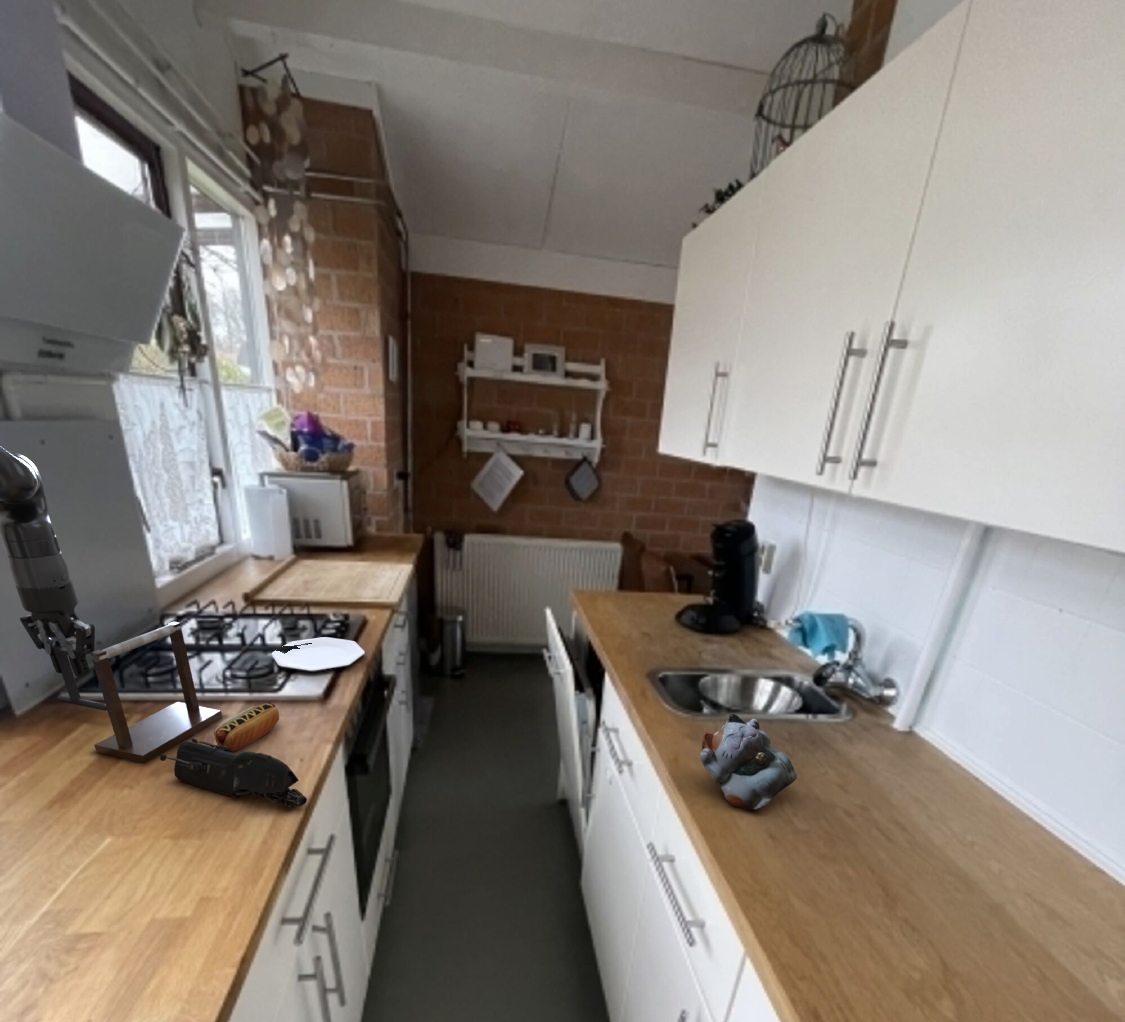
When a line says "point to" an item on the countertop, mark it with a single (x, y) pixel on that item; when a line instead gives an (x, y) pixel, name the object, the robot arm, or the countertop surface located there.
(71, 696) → the hanger
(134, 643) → the rail stand
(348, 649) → the plate
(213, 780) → the black toy vehicle
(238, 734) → the hot dog
